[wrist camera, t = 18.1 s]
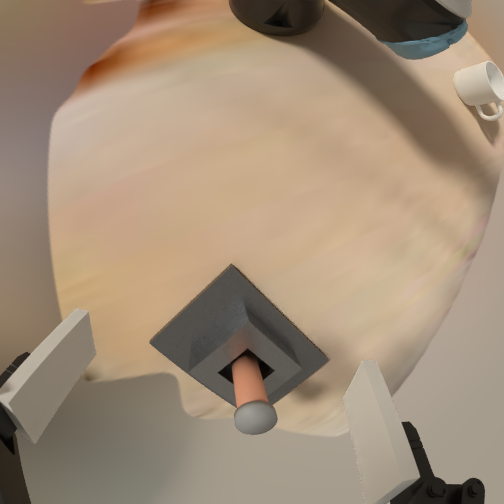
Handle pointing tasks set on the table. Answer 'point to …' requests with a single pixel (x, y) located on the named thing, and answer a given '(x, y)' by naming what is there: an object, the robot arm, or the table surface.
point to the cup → (481, 87)
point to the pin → (251, 396)
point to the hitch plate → (223, 312)
